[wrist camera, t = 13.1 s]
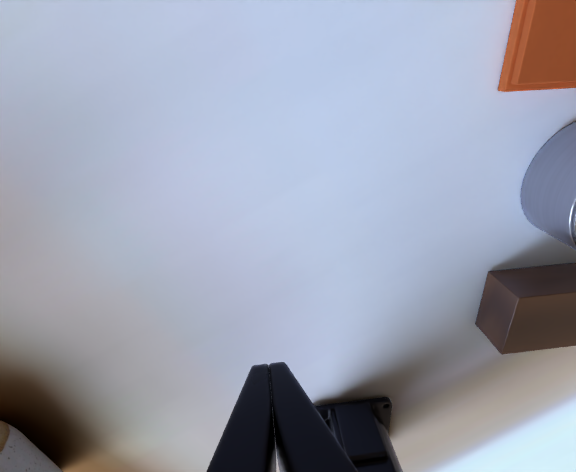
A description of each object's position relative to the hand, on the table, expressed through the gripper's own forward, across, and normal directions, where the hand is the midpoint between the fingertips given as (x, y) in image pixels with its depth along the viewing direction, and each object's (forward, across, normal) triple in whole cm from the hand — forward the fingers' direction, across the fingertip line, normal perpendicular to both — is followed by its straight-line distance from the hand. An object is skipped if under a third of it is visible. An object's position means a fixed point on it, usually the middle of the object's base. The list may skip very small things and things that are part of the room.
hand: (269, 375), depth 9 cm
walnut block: (+12, -19, +8) cm, 24 cm away
